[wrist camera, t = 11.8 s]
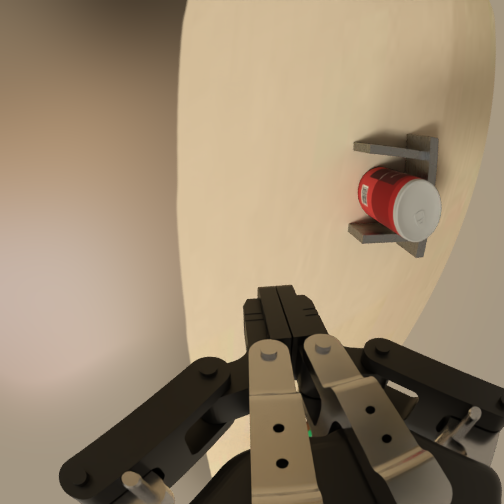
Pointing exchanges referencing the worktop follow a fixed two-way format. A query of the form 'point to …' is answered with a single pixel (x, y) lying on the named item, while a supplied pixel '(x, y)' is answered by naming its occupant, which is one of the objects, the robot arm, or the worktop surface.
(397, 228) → the canned food
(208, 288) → the worktop surface
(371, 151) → the keeper bracket
